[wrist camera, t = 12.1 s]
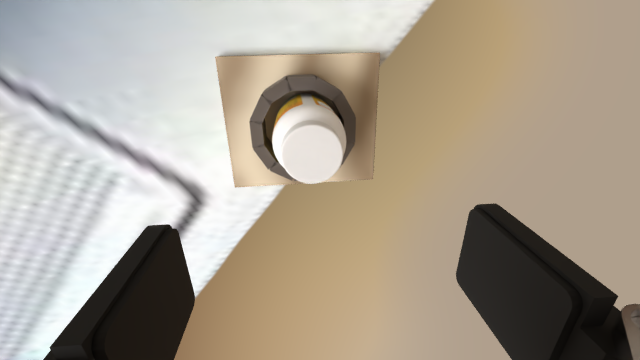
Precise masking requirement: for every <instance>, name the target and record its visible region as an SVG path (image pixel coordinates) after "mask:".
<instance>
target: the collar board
mask: <svg viewBox="0 0 640 360" xmlns="http://www.w3.org/2000/svg"><path fill="white" fill-rule="evenodd" d="M215 58H216V65H217V72H218V78H219V85H220V92H221V98H222V105H223V111H224V118H225V125H226V131H227V138H228V145H229V151H230V158H231V164H232V171H233V178H234V184H235V187H249V186H266V185H284V184H301V183H303V182H300V181H298V180H296V179H294V178H293V177H291V176H290V175H289V174H288V173H287V171H286V170H285V168H284V167H283V166H282V165H281V164H280V163H279V161H278V160H277V158H276V156H275V154H274V150H273V145H272V136H273V130H274V125H275V121H276V116H277V113H278V110H279V108H280V107H281V105H282V104H283V103H284V102H285V101H286V100H287V99H289V98H290V97H292V96H294V95H297V94H302V93H308V94H313V95H316V96H318V97H320V98H322V99H323V100H324V101H325V102H326V103H327V104H328V105H329V106H330V108H331V109H332V110H333V112H334V113H335V114H336V116H337V117H338V118H339V120H340V121H341V123H342V125H343V127H344V130H345V134H346V149H345V153H344V155H343V160H342V163H341V166H340V168H339V169H338V171H337V172H336V173H335V174H334V175H333V176H332V177H331V178H329V179H328V180H326V181H323V182H335V181H352V180H368V179H373V171H374V153H375V134H376V115H377V98H378V78H379V61H380V53H342V54H302V55H261V56H220V57H215Z"/></svg>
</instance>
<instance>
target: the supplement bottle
mask: <svg viewBox="0 0 640 360" xmlns="http://www.w3.org/2000/svg"><path fill="white" fill-rule="evenodd" d="M272 145H273V150H274V154H275V156H276V158H277V160H278V161H279V163H280V164H281V165H282V166H283V167H284V168H285V170H286V171H287V173H288V174H289V175H290V176H291V177H293V178H294V179H296V180H298V181H300V182H303V183H309V184H315V183H320V182H323V181H326V180H328V179H329V178H331V177H332V176H333V175H334V174H335V173H336V172H337V171H338V169H339V168H340V166H341V163H342V160H343V155H344V153H345V149H346V134H345V130H344V127H343V125H342V123H341V121H340V120H339V118H338V117H337V116H336V114H335V113H334V112H333V110H332V109H331V108H330V106H329V105H328V104H327V103H326V102H325V101H324V100H323V99H322V98H320V97H318V96H316V95H313V94H308V93H302V94H297V95H294V96H292V97H290V98H289V99H287V100H286V101H285V102H284V103H283V104H282V105H281V107H280V108H279V110H278V113H277V116H276V121H275V125H274V130H273V136H272Z"/></svg>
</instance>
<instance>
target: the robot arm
mask: <svg viewBox="0 0 640 360" xmlns="http://www.w3.org/2000/svg"><path fill="white" fill-rule="evenodd" d="M456 277H457V282H458V284H459V285H460V287H461V288H462V290H463V291H464V292H465V294H466V295H467V297H468V298H469V300H470V301H471V302H472V304H473V305H474V307H475V308H476V310H477V311H478V312H479V314H480V315H481V317H482V318H483V319H484V321H485V322H486V324H487V325H488V326H489V328H490V329H491V331H492V332H493V334H494V335H495V336H496V338H497V339H498V341H499V342H500V344H501V345H502V346H503V348H504V349H505V351H506V352H507V353H508V355H509V356H510V358H511V359H512V360H640V304H631V305H626V306H625V307H624V308H623V309H622V310H621V311H619V310H618V309H617V308H616V307H614V306H613V305H614V303H615V301H616V299H617V297H618V296H617V295H616V294H615V293H613V292H612V291H611V290H610V289H608V288H607V287H606V286H604V285H603V284H602V283H600V282H599V281H597V280H596V279H595V278H594V277H592V276H591V275H590V274H589V273H587V272H586V271H585V270H583V269H582V268H581V267H579V266H578V265H577V264H575V263H574V262H573V261H571V260H570V259H569V258H567V257H566V256H565V255H564V254H562V253H561V252H560V251H558V250H557V249H556V248H554V247H553V246H552V245H550V244H549V243H548V242H546V241H545V240H544V239H543V238H541V237H540V236H539V235H537V234H536V233H535V232H533V231H532V230H531V229H529V228H528V227H527V226H525V225H524V224H523V223H521V222H520V221H519V220H517V219H516V218H515V217H514V216H512V215H511V214H510V213H508V212H507V211H506V210H504V209H503V208H502V207H500V206H499V205H497V204H480V205H476V206H475V207H474V209H472V210H471V211H470V213H469V216H468V221H467V226H466V231H465V235H464V240H463V245H462V249H461V253H460V258H459V263H458V267H457V272H456ZM194 302H195V295H194V291H193V287H192V283H191V279H190V275H189V272H188V268H187V264H186V260H185V256H184V252H183V248H182V245H181V241H180V237H179V233H178V231H177V229H172V227H171V226H170V225H152V226H147V227H146V228H145V230H144V231H143V232H142V233H141V235H140V236H139V237H138V238H137V240H136V241H135V242H134V243H133V245H132V246H131V247H130V248H129V249H128V251H127V252H126V253H125V254H124V256H123V257H122V258H121V259H120V261H119V262H118V263H117V264H116V266H115V267H114V268H113V269H112V271H111V272H110V273H109V274H108V276H107V277H106V278H105V279H104V281H103V282H102V283H101V284H100V286H99V287H98V288H97V289H96V291H95V292H94V293H93V294H92V296H91V297H90V298H89V299H88V300H87V302H86V303H85V304H84V305H83V307H82V308H81V309H80V310H79V312H78V313H77V314H76V315H75V317H74V318H73V319H72V320H71V322H70V323H69V324H68V325H67V327H66V328H65V329H64V330H63V332H62V333H61V334H60V335H59V337H58V338H57V339H56V340H55V342H54V343H53V344H52V345H51V346H50V349H51V351H50V352H49V353H48V354H47V356H46V357H45V358H44V359H43V360H174V358H175V355H176V352H177V350H178V347H179V344H180V341H181V339H182V336H183V333H184V331H185V328H186V325H187V323H188V320H189V318H190V315H191V312H192V310H193V306H194Z"/></svg>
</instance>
